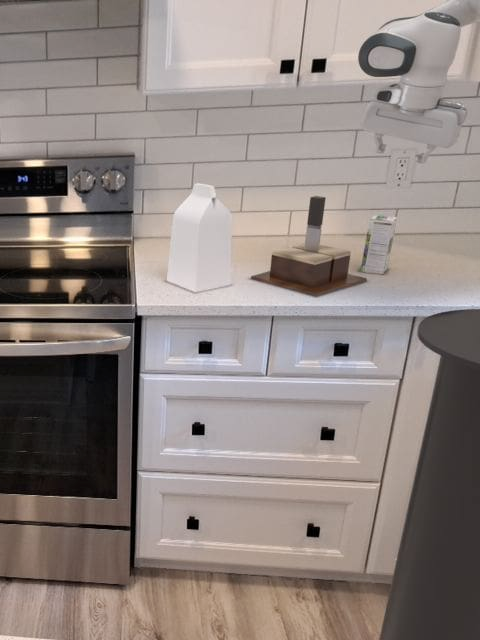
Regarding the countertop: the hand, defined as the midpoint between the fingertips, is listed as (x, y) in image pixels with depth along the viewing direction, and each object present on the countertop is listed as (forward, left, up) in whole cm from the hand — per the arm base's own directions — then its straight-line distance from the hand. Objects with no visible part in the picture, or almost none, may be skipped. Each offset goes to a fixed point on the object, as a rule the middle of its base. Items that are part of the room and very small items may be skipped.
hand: (399, 157), depth 159 cm
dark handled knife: (+14, +9, -25) cm, 30 cm away
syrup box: (+13, -12, -32) cm, 37 cm away
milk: (+25, +35, -32) cm, 54 cm away
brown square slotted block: (+14, +9, -32) cm, 36 cm away
